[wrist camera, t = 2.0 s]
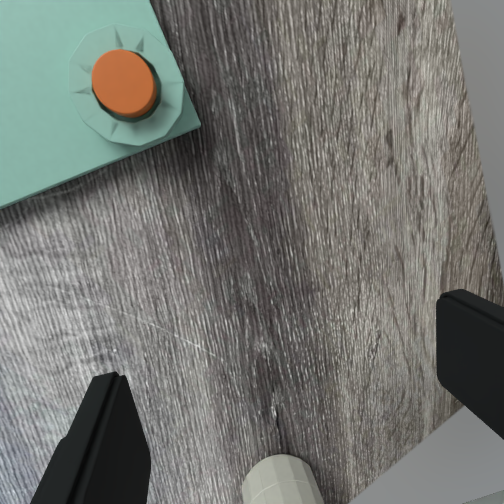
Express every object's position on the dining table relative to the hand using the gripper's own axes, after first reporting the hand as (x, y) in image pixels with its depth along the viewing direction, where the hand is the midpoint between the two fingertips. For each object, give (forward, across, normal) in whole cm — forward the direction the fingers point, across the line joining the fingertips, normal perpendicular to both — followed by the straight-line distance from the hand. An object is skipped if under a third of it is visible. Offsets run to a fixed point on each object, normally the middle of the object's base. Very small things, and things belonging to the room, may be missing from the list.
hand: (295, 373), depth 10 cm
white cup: (+15, 0, +22) cm, 27 cm away
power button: (+13, +4, -11) cm, 17 cm away
